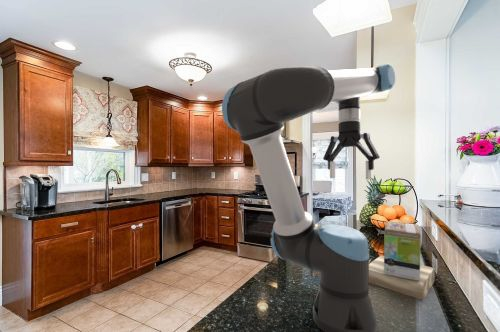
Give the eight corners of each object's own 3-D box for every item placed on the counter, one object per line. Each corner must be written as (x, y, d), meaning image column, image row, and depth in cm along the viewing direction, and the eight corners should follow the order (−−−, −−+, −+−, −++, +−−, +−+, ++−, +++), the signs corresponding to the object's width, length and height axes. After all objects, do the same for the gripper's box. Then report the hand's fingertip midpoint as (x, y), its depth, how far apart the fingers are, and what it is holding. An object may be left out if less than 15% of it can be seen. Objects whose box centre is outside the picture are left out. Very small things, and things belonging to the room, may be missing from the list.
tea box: (421, 282, 74) (421, 233, 74) (383, 274, 79) (383, 228, 79) (417, 265, 86) (417, 223, 87) (385, 259, 92) (385, 220, 92)
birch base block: (422, 302, 72) (422, 284, 72) (363, 282, 84) (363, 268, 84) (434, 282, 84) (434, 268, 84) (380, 268, 96) (380, 255, 96)
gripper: (389, 118, 85) (389, 179, 85) (324, 127, 103) (324, 177, 103) (381, 115, 80) (381, 180, 80) (314, 125, 98) (314, 178, 98)
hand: (349, 178), depth 91 cm, fingers open, 13 cm apart
